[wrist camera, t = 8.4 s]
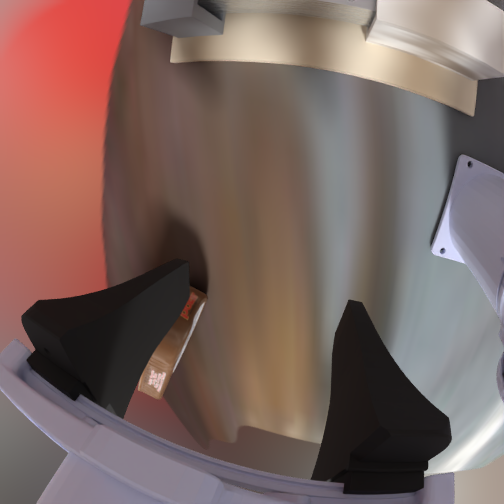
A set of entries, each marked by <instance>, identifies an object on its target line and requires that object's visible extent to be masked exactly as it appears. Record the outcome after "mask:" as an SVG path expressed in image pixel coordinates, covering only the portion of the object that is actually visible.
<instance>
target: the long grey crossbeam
mask: <svg viewBox="0 0 504 504" xmlns="http://www.w3.org/2000/svg"><path fill="white" fill-rule="evenodd" d="M197 5H199V6H201V7H202V8H204V9H205V10H207V11H208V12H210V13H211V14H226V13H276V14H292V15H302V16H311V17H319V18H326V19H332V20H338V21H344V22H349V23H354V24H358V25H363V26H367V27H370V26H371V24H372V22H373V19H374V17H375V15H376V0H198V2H197Z"/></svg>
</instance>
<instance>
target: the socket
mask: <svg viewBox="0 0 504 504" xmlns="http://www.w3.org/2000/svg"><path fill="white" fill-rule="evenodd" d="M197 2H198V0H145V2H144V7H143V13H142V18H141V24H140V25H141V26H144V27H147V28H151V29H154V30H157V31H160V32H163V33H166V34H169V35H172V36H174V37H177V38H184V37H195V36H209V35H223V31H224V23H225V16H226V14H211V13H210V12H208V11H207V10H205V9H204V8H202V7H201V6H199V5H197Z"/></svg>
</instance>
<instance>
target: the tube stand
mask: <svg viewBox="0 0 504 504" xmlns="http://www.w3.org/2000/svg"><path fill="white" fill-rule="evenodd" d="M198 61H246V62H264V63H276V64H286V65H295V66H303V67H310V68H316V69H322V70H328V71H333V72H339V73H343V74H348V75H353V76H357V77H361V78H365V79H369V80H373V81H377V82H381V83H384V84H388V85H391V86H394V87H398V88H401V89H404V90H407V91H410V92H413V93H416V94H419V95H421V96H424V97H427V98H429V99H432V100H435V101H437V102H440V103H442V104H444V105H447V106H449V107H451V108H454V109H456V110H458V111H460V112H463V113H465V114H467V115H469V116H474V112H475V104H476V94H477V83H478V80H482V79H490V78H498V77H504V11H503V10H501V9H500V8H498V7H496V6H495V5H493V4H492V3H490V2H488V1H487V0H376V15H375V17H374V19H373V22H372V24H371V26H370V27H367V26H363V25H358V24H354V23H349V22H344V21H338V20H332V19H326V18H319V17H311V16H302V15H292V14H276V13H226V16H225V23H224V31H223V35H209V36H195V37H184V38H177V37H174V36H173V42H172V50H171V58H170V62H172V63H180V62H198Z"/></svg>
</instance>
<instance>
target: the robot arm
mask: <svg viewBox="0 0 504 504" xmlns="http://www.w3.org/2000/svg"><path fill="white" fill-rule="evenodd" d="M469 161H470V162H471V165H470V166H469V167H468V162H469ZM442 248H444V250H443V251H442V252H440V249H442ZM431 251H432V253H433V254H434V255H437V256H441V257H444V258H448V259H451V260H455V261H458V262H462V263H465V264H466V265H467V266H468V268H469V269H470V271H471V272H472V274H473V275H474V277H475V278H476V280H477V281H478V283H479V284H480V286H481V287H482V289H483V291H484V292H485V294H486V296H487V297H488V299H489V301H490V302H491V304H492V306H493V308H494V309H495V311H496V313H497V315H498V317H499V318H500V321H501V329H500V332H499V337H500V339H501V341H502V343H503V346H504V173H502V172H500V171H498V170H496V169H494V168H492V167H490V166H488V165H486V164H484V163H482V162H480V161H478V160H475V159H473V158H471V157H469V156H467V155H463V154H462V155H460V156H459V158H458V161H457V165H456V169H455V173H454V177H453V181H452V185H451V188H450V192H449V195H448V198H447V202H446V205H445V208H444V211H443V214H442V217H441V220H440V223H439V226H438V229H437V232H436V235H435V237H434V240H433V243H432V245H431ZM189 298H190V285H189V262H188V261H185V260H181V259H175V260H172V261H170V262H168V263H166V264H164V265H162V266H159V267H157V268H155V269H153V270H151V271H149V272H147V273H145V274H143V275H140V276H138V277H136V278H133V279H131V280H129V281H126V282H124V283H122V284H119V285H116V286H114V287H111V288H107V289H104V290H101V291H98V292H94V293H89V294H85V295H81V296H75V297H70V298H62V299H49V300H38V301H37V302H36V303H35V304H34V305H33V306H32V307H30V308H29V309H28V310H27V311H26V312H25V313H24V314H23V315H22V324H23V327H24V329H25V331H26V333H27V335H28V337H29V338H30V340H31V342H32V344H33V346H34V347H35V349H36V350H35V351H34V352H33V353H31V352H30V350H29V349H28V348H27V347H25V346H24V345H23V344H22V343H21V342H20V341H19V340H18V339H14V340H13V341H12V342H11V343H10V344H9V345H8V346H7V347H6V348H5V349H4V350H3V351H2V352H1V353H0V389H1V390H2V391H3V393H4V394H5V395H6V396H7V397H8V398H9V399H10V401H11V402H12V403H13V404H14V405H15V406H16V407H17V408H18V409H19V410H20V411H21V412H22V413H23V414H24V415H25V416H26V417H27V418H28V419H29V420H30V421H31V422H33V423H34V424H35V425H36V426H37V427H38V428H39V429H40V430H41V431H42V432H44V433H45V434H46V435H47V436H48V437H49V438H51V439H52V440H53V441H54V442H56V443H57V444H58V445H59V446H60V447H62V448H63V449H64V450H66V451H67V452H68V455H67V456H66V458H65V460H64V461H63V462H62V464H61V466H60V467H59V469H58V470H57V472H56V473H55V475H54V476H53V478H52V479H51V481H50V483H49V484H48V486H47V487H46V489H45V490H44V492H43V494H42V495H41V497H40V498H39V500H38V502H37V503H36V504H454V473H453V472H451V473H445V474H438V475H431V476H427V477H424V471H426V470H427V469H428V460H430V459H431V458H433V457H435V456H436V455H438V454H439V453H440V452H442V451H443V450H444V449H446V448H447V447H448V445H449V444H450V443H451V440H452V436H451V428H450V421H449V417H447V416H446V415H445V414H444V413H442V412H441V411H440V410H439V409H438V408H436V407H435V406H434V405H433V404H432V403H431V402H430V401H428V400H427V399H426V398H425V397H424V396H423V395H422V394H421V393H420V392H419V391H418V389H417V388H416V387H415V386H414V385H413V384H412V383H411V382H410V380H409V379H408V378H407V377H406V376H405V374H404V373H403V372H402V371H401V369H400V368H399V366H398V365H397V364H396V362H395V361H394V359H393V358H392V356H391V355H390V353H389V352H388V350H387V348H386V347H385V345H384V344H383V342H382V340H381V338H380V336H379V334H378V333H377V331H376V329H375V327H374V325H373V323H372V321H371V319H370V317H369V315H368V313H367V311H366V309H365V307H364V305H363V303H362V302H358V301H354V300H348V303H347V305H346V308H345V310H344V313H343V315H342V318H341V320H340V323H339V325H338V328H337V330H336V332H335V338H334V344H333V352H332V376H331V397H330V405H329V411H328V416H327V421H326V426H325V431H324V435H323V439H322V443H321V447H320V451H319V455H318V458H317V462H316V465H315V468H314V471H313V474H312V477H311V480H307V479H301V478H294V477H288V476H283V475H278V474H273V473H268V472H263V471H259V470H255V469H250V468H247V467H243V466H239V465H236V464H232V463H228V462H225V461H222V460H218V459H216V458H212V457H209V456H206V455H203V454H201V453H198V452H195V451H192V450H190V449H187V448H184V447H182V446H179V445H177V444H174V443H172V442H169V441H167V440H165V439H163V438H160V437H158V436H156V435H154V434H152V433H149V432H147V431H145V430H143V429H141V428H139V427H137V426H135V425H133V424H131V423H129V422H127V421H125V420H123V418H124V415H125V412H126V410H127V407H128V404H129V402H130V399H131V397H132V395H133V393H134V390H135V388H136V386H137V383H138V381H139V379H140V377H141V375H142V373H143V371H144V369H145V367H146V365H147V364H148V362H149V360H150V358H151V356H152V354H153V353H154V351H155V350H156V348H157V347H158V345H159V344H160V342H161V341H162V340H163V338H164V337H165V335H166V334H167V333H168V331H169V330H170V329H171V327H172V326H173V324H174V323H175V322H176V320H177V319H178V317H179V316H180V315H181V313H182V311H183V309H184V307H185V306H186V304H187V302H188V300H189ZM497 385H498V390H499V393H500V396H501V398H502V401H503V403H504V352H503V354H502V356H501V358H500V360H499V363H498V367H497ZM227 483H228V484H227ZM230 484H231V485H230ZM233 485H235V486H233ZM236 486H239V487H242V488H246V489H251V490H255V491H259V492H264V493H263V495H262V494H259V493H255V492H252V491H249V490H245V489H242V488H239V487H236Z"/></svg>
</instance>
